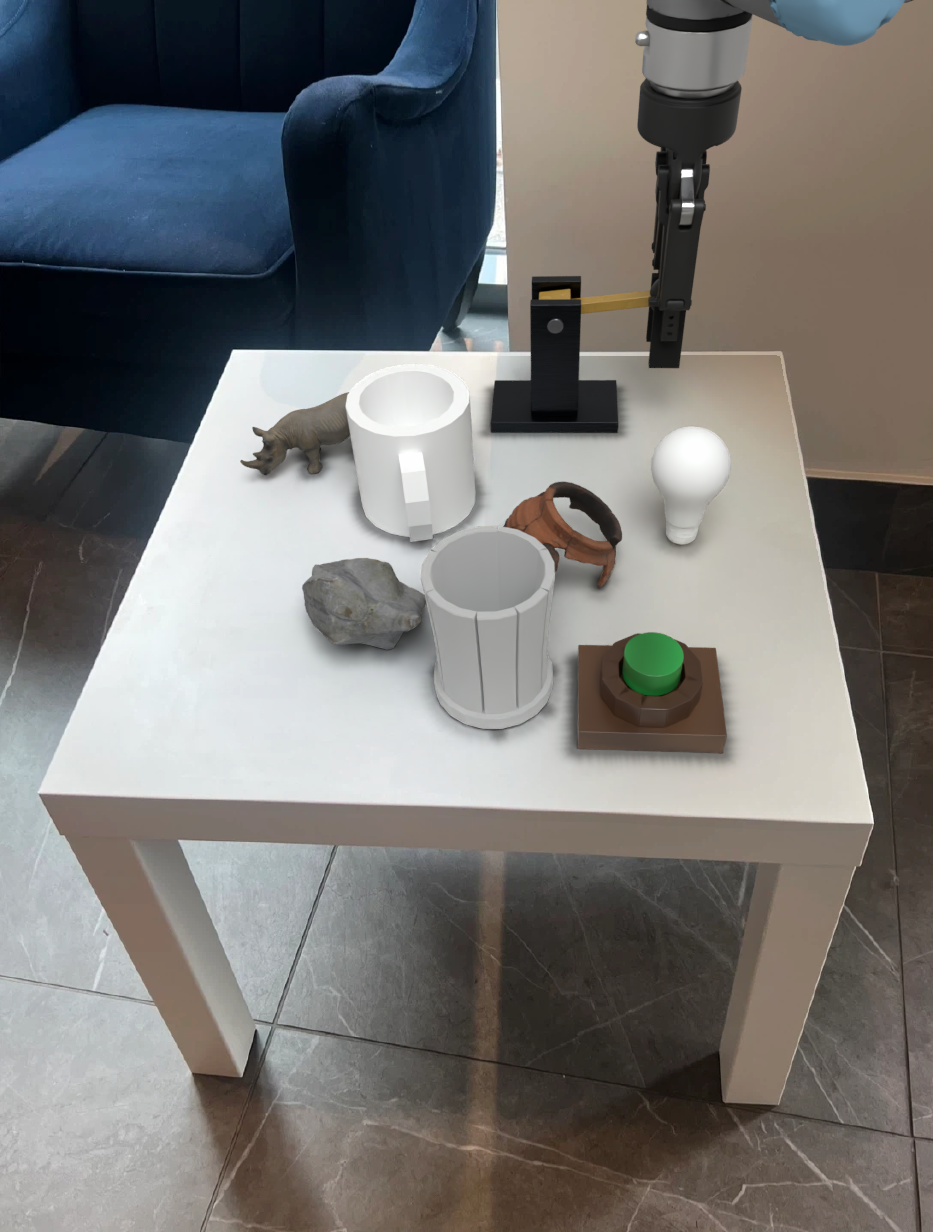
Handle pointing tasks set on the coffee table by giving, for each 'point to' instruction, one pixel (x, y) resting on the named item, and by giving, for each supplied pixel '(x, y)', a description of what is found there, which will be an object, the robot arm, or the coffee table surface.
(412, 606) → the fossil
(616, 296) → the switch lever
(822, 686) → the coffee table surface
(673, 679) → the light button
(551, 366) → the switch bracket
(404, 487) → the mug
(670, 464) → the lightbulb
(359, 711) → the coffee table surface
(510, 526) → the broken clay pot
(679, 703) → the button block
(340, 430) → the rhino figurine
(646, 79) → the robot arm
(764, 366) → the coffee table surface
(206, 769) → the coffee table surface
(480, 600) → the cup
